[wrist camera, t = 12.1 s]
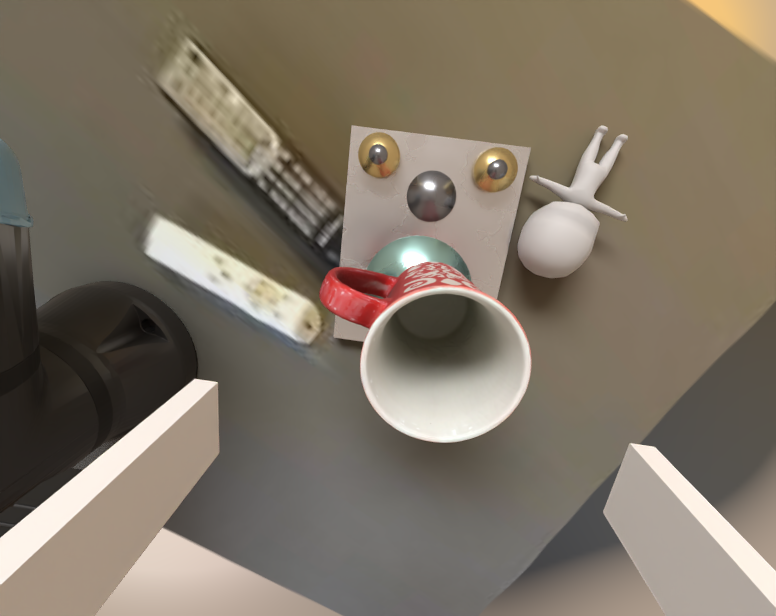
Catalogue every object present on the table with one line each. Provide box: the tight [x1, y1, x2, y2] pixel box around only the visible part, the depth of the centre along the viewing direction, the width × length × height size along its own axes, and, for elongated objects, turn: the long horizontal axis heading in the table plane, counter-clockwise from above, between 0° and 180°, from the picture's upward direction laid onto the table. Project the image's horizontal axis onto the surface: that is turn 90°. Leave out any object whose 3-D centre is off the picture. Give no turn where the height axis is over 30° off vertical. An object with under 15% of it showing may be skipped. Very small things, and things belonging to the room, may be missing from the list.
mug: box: [319, 262, 531, 443], centre depth 25 cm, size 13×9×14 cm
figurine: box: [517, 125, 628, 278], centre depth 28 cm, size 8×5×12 cm
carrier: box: [334, 126, 531, 342], centre depth 30 cm, size 14×18×3 cm
